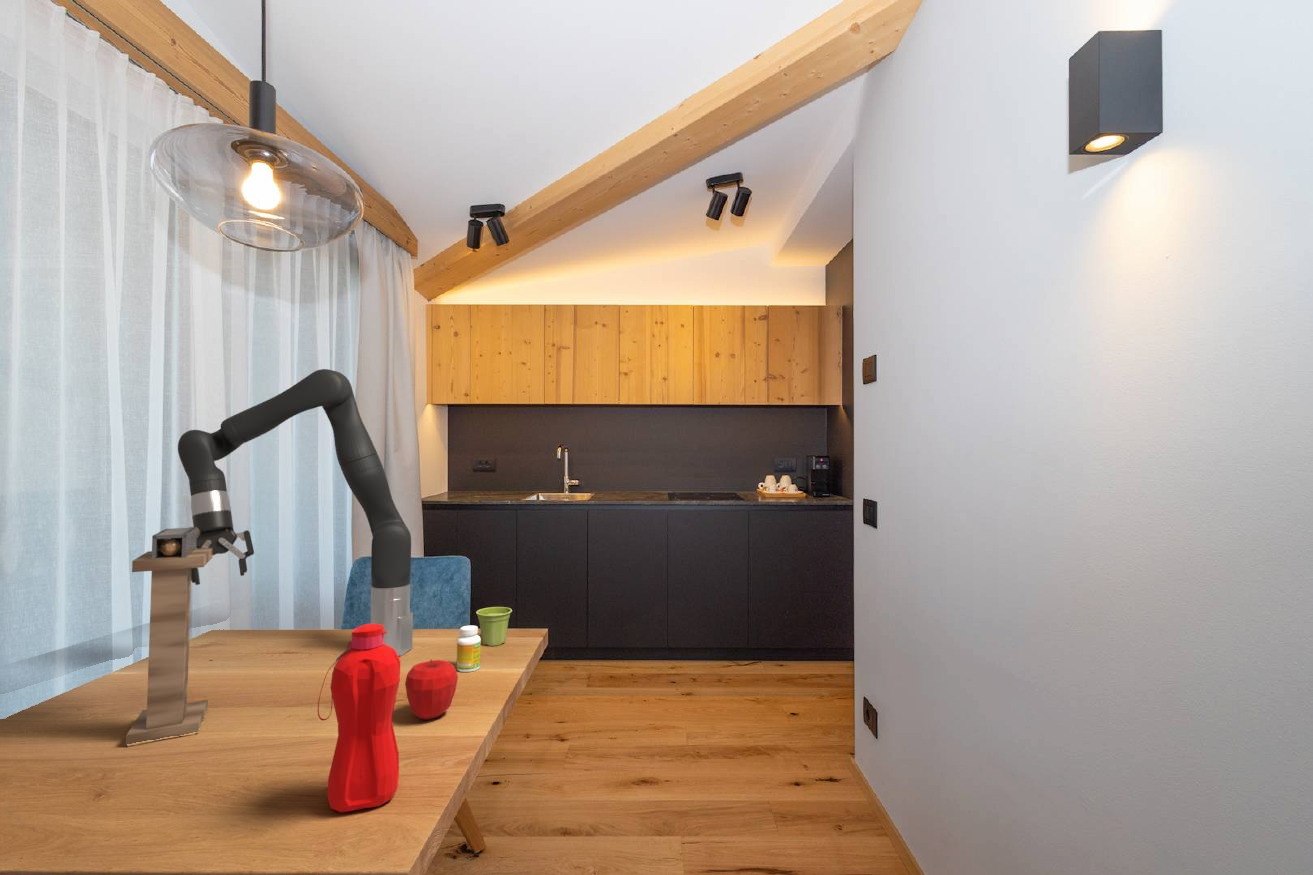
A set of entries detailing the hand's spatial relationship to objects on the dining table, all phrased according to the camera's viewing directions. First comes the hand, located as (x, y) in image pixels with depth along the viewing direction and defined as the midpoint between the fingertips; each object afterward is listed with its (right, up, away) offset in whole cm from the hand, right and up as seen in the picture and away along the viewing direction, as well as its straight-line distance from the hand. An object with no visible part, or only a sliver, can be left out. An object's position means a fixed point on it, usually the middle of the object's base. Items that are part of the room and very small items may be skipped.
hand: (220, 579), depth 140 cm
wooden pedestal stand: (+12, -20, -29) cm, 38 cm away
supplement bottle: (+58, -22, +2) cm, 62 cm away
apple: (+59, -21, -24) cm, 67 cm away
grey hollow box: (+12, +12, -28) cm, 33 cm away
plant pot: (+58, -23, +22) cm, 66 cm away
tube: (+9, +12, -22) cm, 27 cm away
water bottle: (+58, -20, -52) cm, 81 cm away
